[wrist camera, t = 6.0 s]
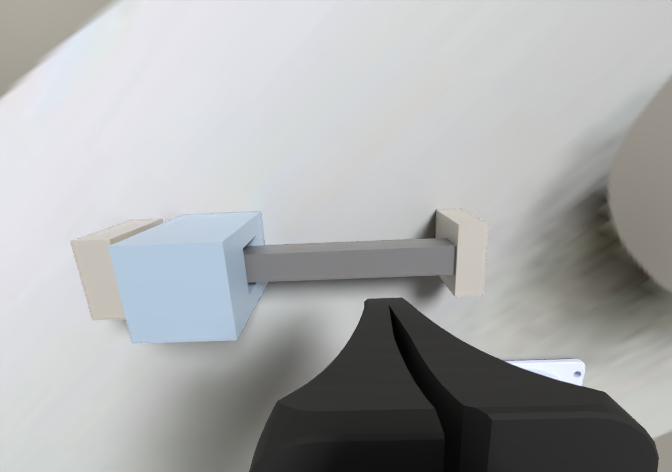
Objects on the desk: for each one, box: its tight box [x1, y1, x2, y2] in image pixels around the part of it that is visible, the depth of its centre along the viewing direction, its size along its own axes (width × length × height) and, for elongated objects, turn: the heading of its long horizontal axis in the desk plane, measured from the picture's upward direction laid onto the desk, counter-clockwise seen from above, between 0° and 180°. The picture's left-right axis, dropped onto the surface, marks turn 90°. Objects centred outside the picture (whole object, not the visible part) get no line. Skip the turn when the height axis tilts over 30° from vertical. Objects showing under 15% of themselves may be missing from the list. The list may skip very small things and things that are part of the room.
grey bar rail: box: [70, 209, 489, 320], centre depth 18 cm, size 21×4×5 cm, turn 93°
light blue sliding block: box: [108, 211, 268, 344], centre depth 18 cm, size 5×5×7 cm
